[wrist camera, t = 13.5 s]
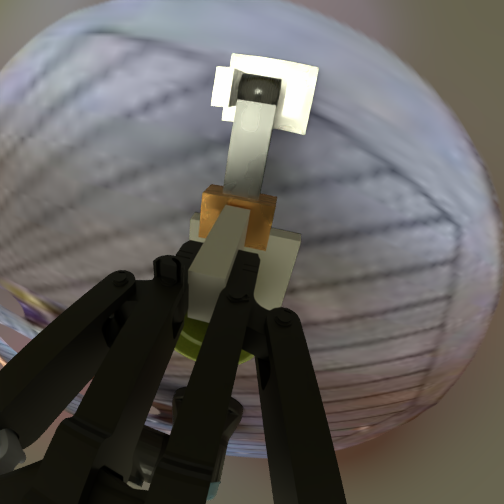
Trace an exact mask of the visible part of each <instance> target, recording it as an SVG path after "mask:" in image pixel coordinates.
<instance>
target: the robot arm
mask: <svg viewBox="0 0 504 504" xmlns="http://www.w3.org/2000/svg"><path fill="white" fill-rule="evenodd" d="M249 216H250V210H249V209H244V208H239V207H234V206H229V205H225V207H224V208H223V210H222V212H221V213H220V215H219V217H218V219H217V220H216V222H215V224H214V225H213V227H212V229H211V231H210V232H209V234H208V236H207V238H206V239H205V241H204V243H202V242H198V241H193V240H189V241H188V242H186V243H184V244H183V245H182V246H181V248H180V249H179V251H178V252H177V254H176V256H172V255H165V256H160V257H158V258H156V259H155V260H154V261H153V266H154V278H153V280H135V277H134V275H133V274H132V273H131V272H129V271H126V270H119V271H115V272H113V273H111V274H109V275H108V276H107V277H106V278H104V279H103V280H102V281H100V282H99V283H98V284H97V285H95V286H94V287H93V288H92V289H90V290H89V291H88V292H87V293H86V294H84V295H83V296H82V297H81V298H79V299H78V300H77V301H76V302H75V303H73V304H72V305H71V306H70V307H69V308H68V309H66V310H65V311H64V312H63V313H62V314H60V315H59V316H58V317H57V318H56V319H55V320H54V321H52V322H51V323H50V324H49V325H48V326H47V327H46V328H45V329H43V330H42V331H41V332H40V333H39V334H38V335H37V336H36V337H35V338H33V339H32V340H31V341H30V342H29V343H28V344H27V345H26V346H25V347H24V348H23V349H22V350H21V351H20V352H19V353H18V354H16V355H15V356H14V357H13V358H12V359H11V360H10V361H9V362H8V363H7V364H6V365H5V366H4V367H3V368H2V369H1V370H0V504H206V500H211V499H213V498H214V497H215V496H216V493H217V490H218V486H219V484H220V483H221V482H220V479H221V475H222V470H223V465H224V460H225V455H226V450H227V445H228V441H229V439H230V437H231V436H232V434H233V433H234V431H235V429H236V428H237V426H238V424H239V423H240V421H241V419H242V414H243V408H242V406H241V405H240V404H239V403H238V402H237V401H236V400H234V399H232V398H231V394H232V389H233V385H234V381H235V376H236V372H237V367H238V363H239V358H240V354H241V350H244V351H246V352H248V353H250V354H252V355H254V356H255V363H256V371H257V379H258V387H259V395H260V403H261V410H262V418H263V426H264V434H265V441H266V449H267V456H268V464H269V471H270V478H271V485H272V493H273V500H274V504H347V503H346V498H345V494H344V489H343V485H342V480H341V476H340V472H339V468H338V463H337V459H336V455H335V451H334V446H333V442H332V438H331V434H330V430H329V426H328V422H327V418H326V414H325V410H324V406H323V403H322V399H321V395H320V391H319V387H318V383H317V380H316V376H315V372H314V369H313V365H312V361H311V358H310V354H309V350H308V347H307V343H306V339H305V336H304V332H303V329H302V325H301V322H300V319H299V317H298V315H297V314H296V313H295V312H293V311H292V310H290V309H288V308H283V307H278V308H273V309H271V310H267V309H265V308H264V307H262V306H260V305H259V304H258V303H257V302H256V300H255V298H254V290H255V285H256V280H257V275H258V271H259V266H260V261H261V260H260V258H259V255H258V254H257V253H252V252H248V251H243V250H244V245H245V239H246V233H247V228H248V222H249ZM187 310H188V317H189V318H192V319H196V320H200V321H204V322H208V323H209V325H208V328H207V331H206V333H205V336H204V339H203V342H202V345H201V348H200V351H199V353H198V356H197V359H196V362H195V365H194V368H193V371H192V374H191V376H190V379H189V382H188V385H187V387H185V388H180V389H178V390H177V391H176V392H175V395H174V397H173V401H172V410H173V427H172V430H171V434H170V435H168V434H165V433H163V432H160V431H158V430H156V429H153V428H151V427H149V426H146V425H144V424H145V421H146V418H147V416H148V413H149V411H150V408H151V405H152V403H153V400H154V398H155V395H156V393H157V390H158V388H159V385H160V383H161V380H162V378H163V375H164V373H165V370H166V368H167V365H168V363H169V360H170V358H171V356H172V353H173V351H174V348H175V346H176V344H177V341H178V339H179V336H180V334H181V332H182V329H183V327H184V317H185V315H186V313H187ZM93 377H94V378H93ZM92 378H93V380H92V382H91V384H90V386H89V388H88V389H87V391H86V393H85V395H84V397H83V399H82V401H81V403H80V405H79V407H78V409H77V411H76V413H75V414H74V415H73V416H72V417H70V418H65V419H64V420H63V421H62V422H61V423H60V425H59V426H58V427H57V429H56V432H55V434H54V436H53V438H52V441H51V443H50V444H49V447H48V449H47V451H46V453H45V456H44V458H43V460H40V461H38V462H35V463H33V464H30V465H27V466H25V467H22V468H19V469H17V470H14V468H15V466H16V465H17V464H18V463H23V462H25V460H26V455H25V453H24V452H23V449H24V448H26V447H28V446H30V445H31V444H32V443H34V442H35V441H36V440H37V439H38V438H39V437H40V436H41V435H42V434H43V433H44V432H45V430H47V429H48V427H49V426H50V425H51V424H52V423H53V422H54V420H55V419H56V418H57V417H58V416H59V415H60V414H61V412H62V411H63V410H64V409H65V408H66V407H67V406H68V404H69V403H70V402H71V401H72V400H73V399H74V398H75V397H76V396H77V394H78V393H79V392H80V391H81V390H82V389H83V388H84V387H85V385H86V384H87V383H88V382H89V381H90V380H91V379H92ZM13 470H14V471H13ZM143 481H145V482H148V483H151V484H150V487H149V490H148V491H147V490H140V489H141V487H142V484H143Z"/></svg>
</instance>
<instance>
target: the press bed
mask: <svg viewBox="0 0 504 504" xmlns="http://www.w3.org/2000/svg"><path fill="white" fill-rule="evenodd" d="M200 214H201V213H194V215H193V216H192V217H191V219H190V238H189V240H193V241H198V242H202V243H204V241H205V238H200V237H198V235H199V224H200ZM300 243H301V234H298V233H293V232H288V231H284V230H279V229H275V228H271V230H270V235H269V239H268V244H267V248H266V251H262V250H257V249H253V248H248V247H244V250H243V251H248V252H252V253H257V254H258V255H259V258H260V260H261V261H260V266H259V271H258V275H257V280H256V285H255V290H254V298H255V300H256V302H257V303H258V304H259V305H260V306H262V307H264V308H265V309H267V310H271V309H273V308H278V307H281V305H282V302H283V298H284V295H285V292H286V289H287V286H288V283H289V280H290V276H291V273H292V270H293V267H294V263H295V260H296V257H297V253H298V250H299V247H300Z"/></svg>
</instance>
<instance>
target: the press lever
mask: <svg viewBox="0 0 504 504" xmlns="http://www.w3.org/2000/svg"><path fill="white" fill-rule="evenodd" d="M281 84H282V79H279V78H273V77H267V76H261V75H254V74H246V73H243V74H242V76H241V79H240V82H239V87H238V94H237V104H236V110H235V116H234V122H233V128H232V134H231V140H230V146H229V153H228V160H227V166H226V173H225V180H224V186H219V185H213V184H211V185H210V186H209V187H208V188H207V189H206V190H205V191H204V192H203V194H202V204H201V214H200V224H199V235H198V237H200V238H205V239H206V238H207V236H208V234H209V232H210V231H211V229H212V227H213V225H214V224H215V222H216V220H217V219H218V217H219V215H220V213H221V212H222V210H223V208H224V207H225V205H229V206H234V207H239V208H244V209H249V210H250V216H249V222H248V228H247V233H246V239H245V245H244V247H248V248H253V249H257V250H262V251H266V248H267V244H268V239H269V235H270V230H271V226H272V221H273V217H274V212H275V207H276V201H277V197H275V196H270V195H265V194H261V188H262V183H263V177H264V172H265V167H266V162H267V156H268V151H269V146H270V141H271V136H272V131H273V125H274V120H275V115H276V110H277V105H278V100H279V95H280V90H281Z"/></svg>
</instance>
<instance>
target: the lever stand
mask: <svg viewBox="0 0 504 504" xmlns="http://www.w3.org/2000/svg"><path fill="white" fill-rule="evenodd" d="M318 70H319V68H317V67H313V66H309V65H304V64H299V63H295V62H289V61H284V60H278V59H272V58H266V57H259V56H251V55H242V54H232V57H231V63H230V67H218V66H217V68H216V74H215V81H214V88H213V94H212V101H211V106H219V107H223V114H222V120H225V121H233V122H234V116H235V110H236V104H237V94H238V87H239V82H240V79H241V76H242V74H243V73H246V74H254V75H261V76H267V77H273V78H279V79H282V84H281V90H280V95H279V100H278V105H277V110H276V115H275V120H274V125H273V128H274V129H279V130H284V131H289V132H293V133H298V134H302V135H305V132H306V127H307V123H308V118H309V113H310V109H311V104H312V99H313V94H314V90H315V85H316V80H317V75H318Z"/></svg>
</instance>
